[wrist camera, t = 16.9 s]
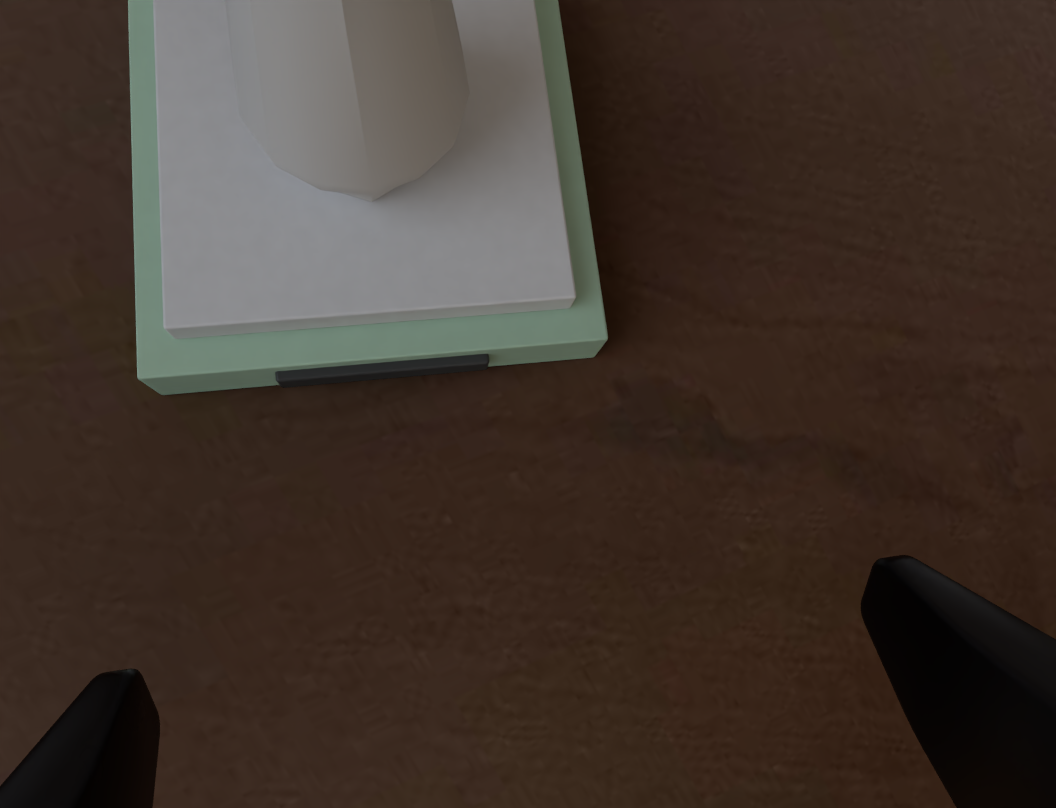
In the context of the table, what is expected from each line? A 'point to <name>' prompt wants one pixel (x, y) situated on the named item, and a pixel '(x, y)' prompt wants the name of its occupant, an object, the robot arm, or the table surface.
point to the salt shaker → (349, 87)
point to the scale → (356, 223)
